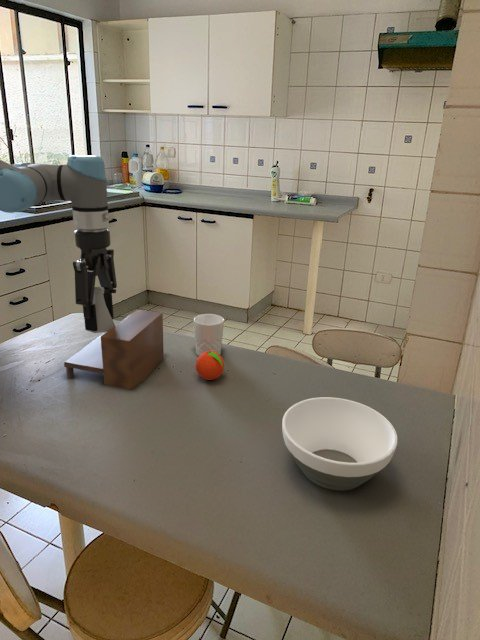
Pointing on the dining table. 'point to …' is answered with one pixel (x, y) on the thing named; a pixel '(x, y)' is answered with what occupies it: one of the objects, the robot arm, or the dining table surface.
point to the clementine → (210, 365)
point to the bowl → (338, 440)
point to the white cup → (208, 333)
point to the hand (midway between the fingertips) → (99, 323)
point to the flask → (101, 312)
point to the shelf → (124, 351)
